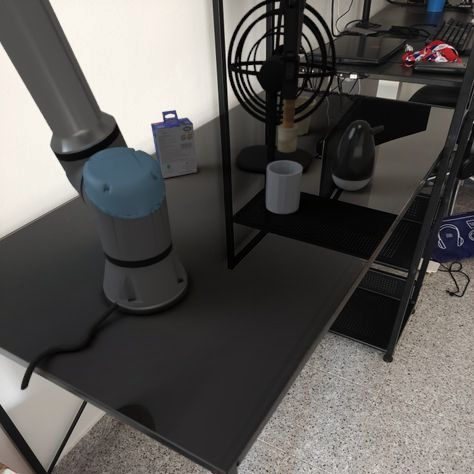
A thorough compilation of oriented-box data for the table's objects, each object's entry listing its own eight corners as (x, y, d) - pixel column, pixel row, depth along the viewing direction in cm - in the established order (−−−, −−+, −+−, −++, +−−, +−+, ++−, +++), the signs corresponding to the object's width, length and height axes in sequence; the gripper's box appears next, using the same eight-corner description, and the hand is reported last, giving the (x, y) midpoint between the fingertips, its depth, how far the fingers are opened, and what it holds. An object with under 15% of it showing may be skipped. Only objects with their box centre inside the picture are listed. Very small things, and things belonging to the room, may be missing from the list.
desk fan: (327, 152, 122) (348, -6, 97) (319, 179, 110) (341, 6, 85) (235, 145, 127) (232, -8, 102) (218, 170, 115) (211, 3, 90)
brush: (285, 154, 90) (292, 37, 75) (273, 148, 92) (278, 33, 77) (300, 149, 91) (309, 34, 77) (288, 143, 93) (295, 30, 79)
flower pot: (277, 128, 136) (279, 98, 129) (305, 125, 137) (308, 94, 131) (289, 139, 129) (291, 108, 123) (317, 135, 131) (321, 104, 125)
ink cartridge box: (192, 164, 118) (187, 106, 107) (198, 172, 114) (193, 113, 104) (157, 171, 115) (148, 112, 105) (162, 179, 112) (153, 119, 101)
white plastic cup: (279, 217, 97) (281, 178, 91) (259, 204, 102) (260, 166, 95) (305, 207, 100) (309, 169, 94) (284, 194, 105) (287, 157, 98)
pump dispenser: (371, 197, 103) (386, 130, 92) (327, 193, 105) (337, 127, 94) (371, 178, 110) (384, 114, 99) (330, 175, 112) (339, 111, 101)
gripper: (321, -69, 62) (305, 110, 79) (326, -74, 72) (311, 86, 89) (269, -68, 63) (265, 108, 80) (281, -73, 73) (275, 84, 90)
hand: (289, 96), depth 84 cm, fingers closed on brush, 2 cm apart
